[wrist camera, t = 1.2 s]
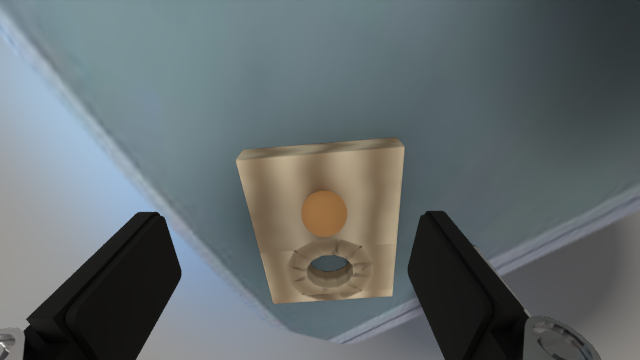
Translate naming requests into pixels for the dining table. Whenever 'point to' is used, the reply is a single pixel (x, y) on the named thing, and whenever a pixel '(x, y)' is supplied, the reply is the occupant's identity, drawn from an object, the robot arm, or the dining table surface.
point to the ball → (324, 213)
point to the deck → (350, 242)
